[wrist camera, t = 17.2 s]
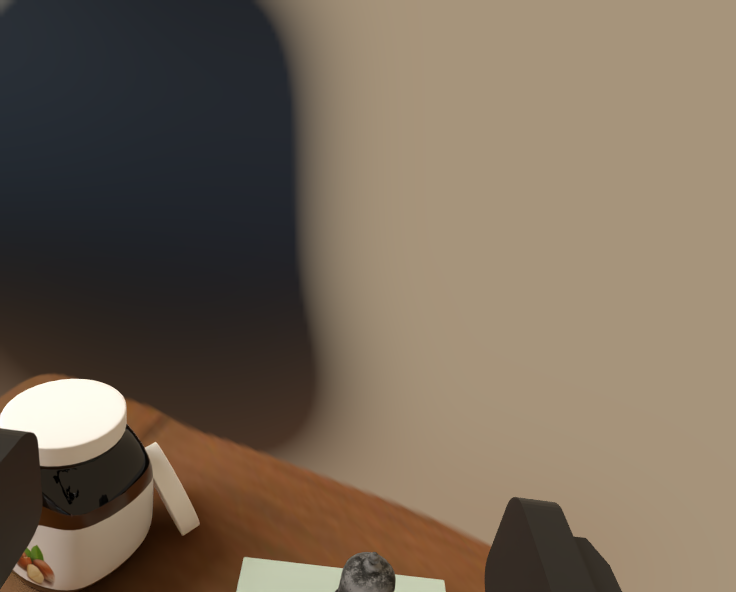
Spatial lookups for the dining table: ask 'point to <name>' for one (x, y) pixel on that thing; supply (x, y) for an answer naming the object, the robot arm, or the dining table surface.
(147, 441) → the dining table surface
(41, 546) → the spread jar
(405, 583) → the light green square frame
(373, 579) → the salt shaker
